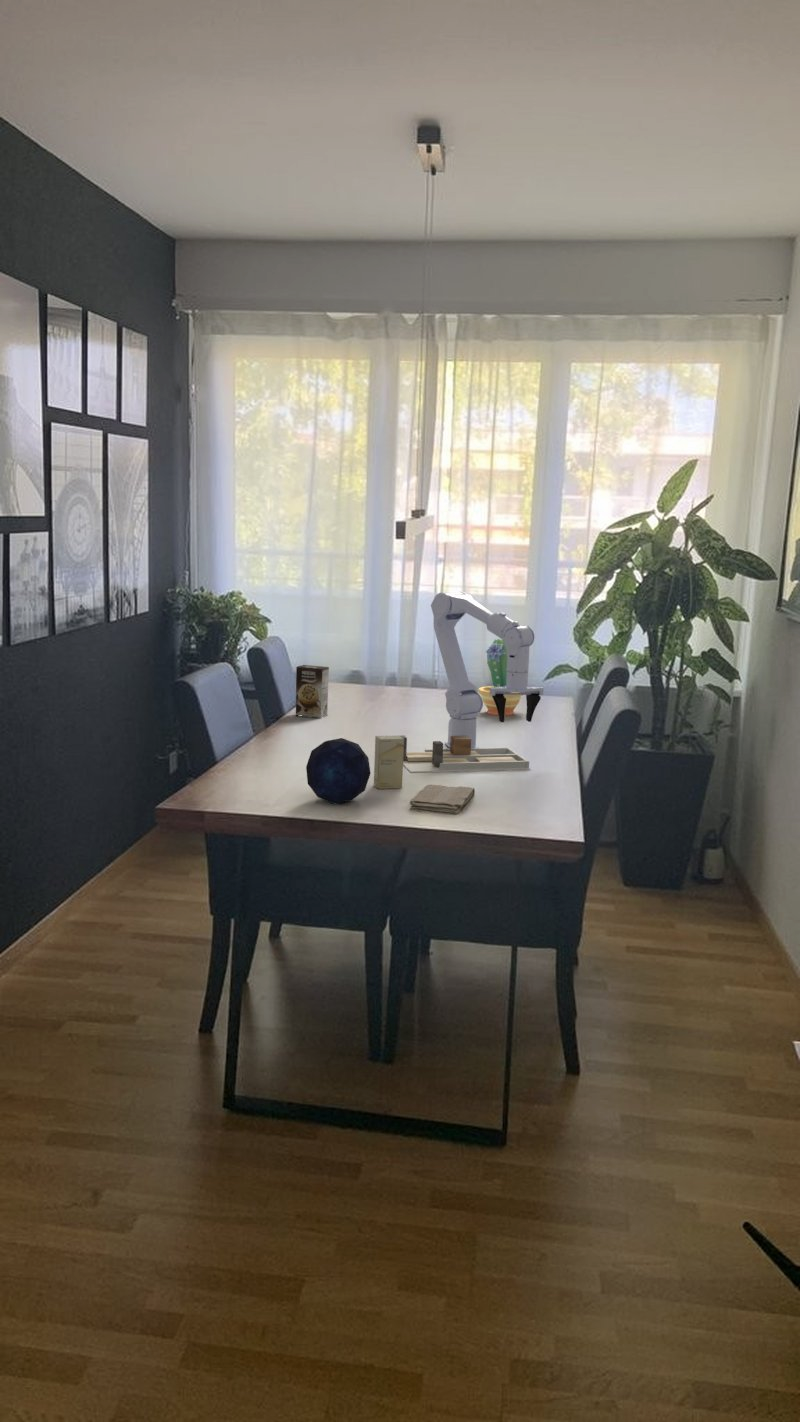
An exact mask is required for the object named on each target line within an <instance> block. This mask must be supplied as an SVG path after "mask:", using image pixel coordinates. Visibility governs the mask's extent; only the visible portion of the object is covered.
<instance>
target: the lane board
mask: <svg viewBox="0 0 800 1422" xmlns="http://www.w3.org/2000/svg"><path fill="white" fill-rule="evenodd" d="M447 751H450V748H443V752H447ZM471 751H476V752H477V753H478V754H480V755H452V756H443V758H465V759H467V760H468V761H469V762H457V763H440V766H434V765H433V764H432V761H408V760H407V759H406V760H403V767H404V768H406V770H407V771H408V772H409V773H411V774H412V773H416V774H417V773H445V772H446V773H447V772H448V773H449V772H451V773H452V772H453V773H454V772H478V771H479V772H480V771H482V772H483V771H485V772H486V771H520V770H523V771H524V770H531V767H530V761H529V760H528V759H527V758H525V757H524V756H522V755H521V754H519V753H517V752H516V751H515V750H514V749H512V748H511V747H508V746H507V747H479V748H471ZM424 752H433V748H428V749H427V748H425V749H424ZM480 757H513V758H514V759H515V760H517V761H496V762H476V761H475V758H480Z"/></svg>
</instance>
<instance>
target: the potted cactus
mask: <svg viewBox="0 0 800 1422" xmlns="http://www.w3.org/2000/svg"><path fill="white" fill-rule="evenodd" d="M485 653H486V662H487V666H488V669H489V671H490V676H491V681H492V685H489V686H481V687H479V688H478V693H479V694H480V696H481V697H482V700H483V705H484V706H485V707H486V709H487V711H486V713H488V714H489V715H493V716H499V715H498V710H497V707H496V704H495V702H494V699H493V697H492V695H490V687H504V686H506V678H507V657H508V654H507V648H506V645H505V643H504V640H502V639H501V638H497V639H494V640H493V642H492V643H491V644H490V646H488V649H486V651H485ZM511 693H525V692H511ZM522 696H523V695H504V698H506V703H505V716H512V715H514V714H515V712H514V710H515V709H516V708H517V706H518V705H519V704H520V701H521V697H522Z"/></svg>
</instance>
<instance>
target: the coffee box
mask: <svg viewBox="0 0 800 1422" xmlns="http://www.w3.org/2000/svg"><path fill="white" fill-rule="evenodd" d="M295 669H296V675H295V676H296V678H295V680H296V681H295V682H296V683H295V685H296V686H295V716H296V715H302V716H310V717H309V718H312V717H318V718H317V719H322V717H323V718H325V717H327V716H328V711H329V710H328V709H329V708H328V707H329V706H328V705H329V704H328V703H329V700H328V699H329V674H330V673H329V670H330V667H329V666H323V665H322V666H320V665H309V664H302V665H298V666H296V668H295ZM326 715H327V716H326ZM324 716H325V717H324Z"/></svg>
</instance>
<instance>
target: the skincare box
mask: <svg viewBox="0 0 800 1422" xmlns="http://www.w3.org/2000/svg"><path fill="white" fill-rule="evenodd" d="M374 740H375V741H374V765H373V766H374V767H373V785H374V786H375V788H377V789H379V790H384V789H385V790H386V789H387V790H388V789H389V790H390V789H392V790H393V789H402V788H403V774H404V772H403V771H404V769H403V768H404V765H403V752H404V738H402V737H401V735H375V739H374Z"/></svg>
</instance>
